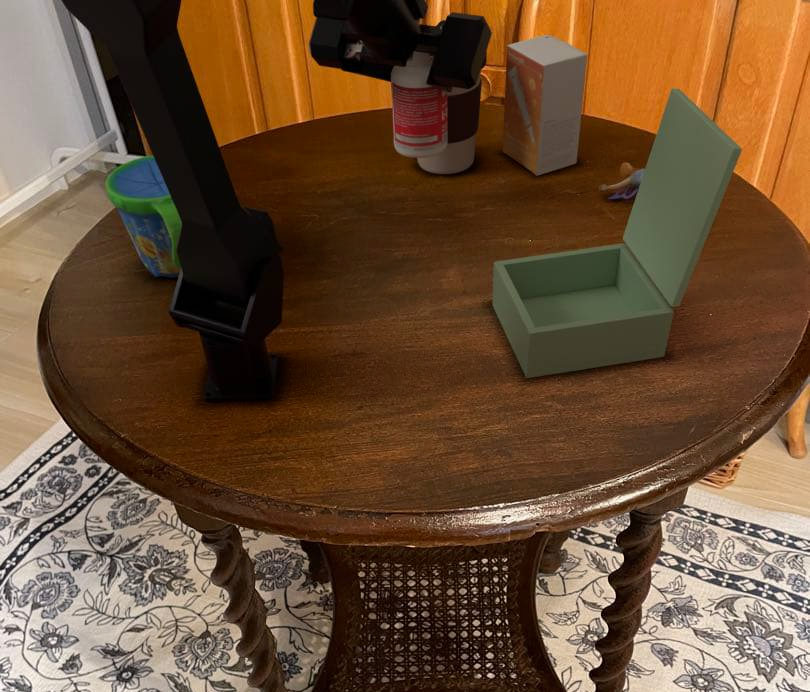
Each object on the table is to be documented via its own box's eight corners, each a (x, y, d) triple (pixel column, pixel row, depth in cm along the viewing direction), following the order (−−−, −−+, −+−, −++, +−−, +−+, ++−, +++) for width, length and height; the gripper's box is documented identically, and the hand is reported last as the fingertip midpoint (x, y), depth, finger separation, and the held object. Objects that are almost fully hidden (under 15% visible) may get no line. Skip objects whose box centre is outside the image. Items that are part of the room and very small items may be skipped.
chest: (526, 378, 81) (529, 333, 77) (492, 305, 89) (493, 261, 85) (664, 357, 82) (674, 311, 78) (618, 286, 90) (625, 242, 87)
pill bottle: (452, 156, 97) (453, 49, 89) (399, 163, 97) (394, 55, 88) (440, 134, 101) (440, 30, 93) (389, 140, 101) (384, 36, 93)
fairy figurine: (662, 214, 93) (588, 162, 99) (651, 252, 97) (581, 200, 103) (736, 182, 97) (661, 135, 103) (723, 220, 101) (651, 172, 107)
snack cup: (236, 289, 93) (217, 199, 86) (139, 309, 92) (110, 219, 84) (214, 222, 103) (195, 136, 96) (126, 239, 102) (99, 153, 94)
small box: (501, 153, 112) (505, 44, 103) (541, 141, 114) (549, 32, 104) (536, 177, 107) (543, 64, 98) (578, 164, 109) (589, 52, 100)
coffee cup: (404, 149, 114) (399, 23, 103) (479, 143, 115) (481, 17, 103) (410, 183, 108) (404, 53, 97) (489, 177, 108) (492, 47, 97)
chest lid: (733, 148, 68) (742, 148, 68) (671, 87, 76) (679, 88, 76) (671, 307, 78) (679, 307, 78) (622, 238, 86) (629, 238, 86)
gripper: (487, -82, 76) (527, 19, 91) (309, -97, 83) (373, 0, 97) (447, 44, 78) (493, 124, 92) (276, 20, 84) (344, 98, 98)
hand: (425, 83), depth 95 cm, fingers closed on pill bottle, 6 cm apart
